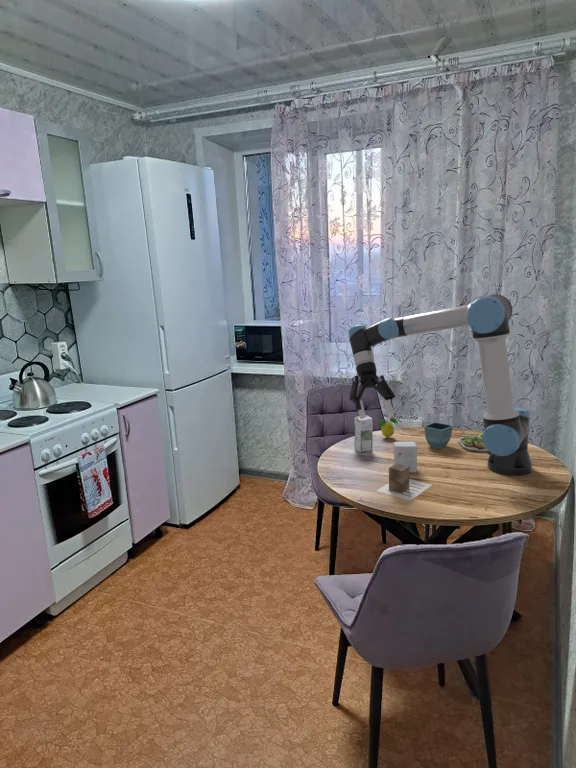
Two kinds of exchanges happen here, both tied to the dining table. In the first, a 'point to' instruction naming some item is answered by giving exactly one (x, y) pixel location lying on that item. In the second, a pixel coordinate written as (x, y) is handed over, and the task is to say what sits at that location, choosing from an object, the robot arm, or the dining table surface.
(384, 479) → the dining table surface
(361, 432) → the syrup box
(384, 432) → the lemon
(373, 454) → the dining table surface
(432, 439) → the flower pot
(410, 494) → the letter
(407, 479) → the walnut block
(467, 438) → the avocado toast plate
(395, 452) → the small box
